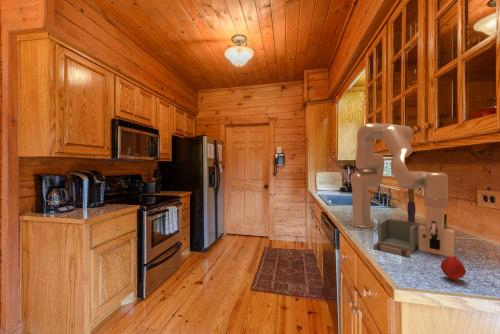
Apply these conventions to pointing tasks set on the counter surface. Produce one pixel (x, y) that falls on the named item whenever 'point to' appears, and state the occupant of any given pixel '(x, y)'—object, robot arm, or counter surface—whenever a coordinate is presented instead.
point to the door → (444, 237)
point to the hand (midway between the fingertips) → (435, 246)
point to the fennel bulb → (445, 221)
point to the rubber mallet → (411, 206)
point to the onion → (453, 268)
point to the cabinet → (397, 237)
